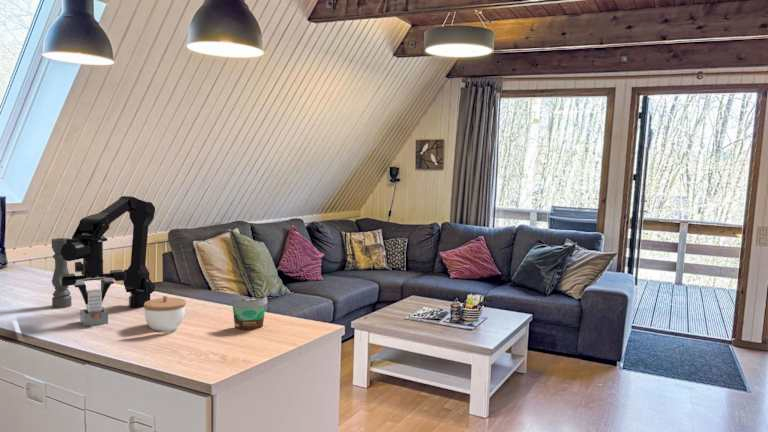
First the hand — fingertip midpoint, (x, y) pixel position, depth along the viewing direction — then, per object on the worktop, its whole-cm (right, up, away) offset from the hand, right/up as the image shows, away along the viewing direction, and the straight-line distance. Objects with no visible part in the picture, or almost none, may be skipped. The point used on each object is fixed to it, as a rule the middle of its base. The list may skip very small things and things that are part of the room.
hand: (93, 303), depth 181 cm
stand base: (0, -8, +1) cm, 8 cm away
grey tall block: (0, -6, +1) cm, 6 cm away
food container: (+51, -9, +3) cm, 52 cm away
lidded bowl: (+24, -9, -1) cm, 25 cm away
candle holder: (-24, -5, +24) cm, 34 cm away
